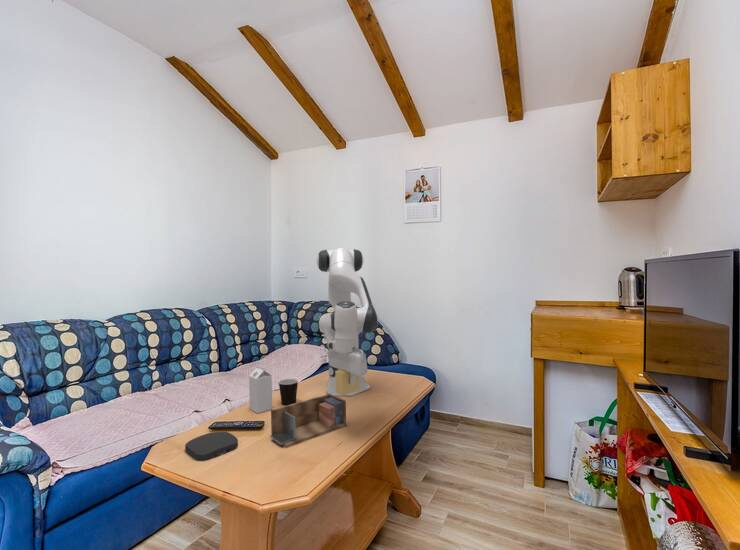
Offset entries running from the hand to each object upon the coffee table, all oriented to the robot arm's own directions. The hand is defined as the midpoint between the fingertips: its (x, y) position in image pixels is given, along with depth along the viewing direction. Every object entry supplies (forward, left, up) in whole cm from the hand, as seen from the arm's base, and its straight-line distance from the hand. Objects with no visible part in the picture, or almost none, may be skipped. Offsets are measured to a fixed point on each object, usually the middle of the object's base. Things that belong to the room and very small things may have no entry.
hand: (347, 382), depth 139 cm
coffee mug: (0, -44, -19) cm, 48 cm away
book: (0, 0, -3) cm, 3 cm away
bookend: (+21, -10, -18) cm, 30 cm away
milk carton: (+14, -45, -19) cm, 51 cm away
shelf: (+10, -11, -19) cm, 24 cm away
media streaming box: (+42, -23, -19) cm, 52 cm away
